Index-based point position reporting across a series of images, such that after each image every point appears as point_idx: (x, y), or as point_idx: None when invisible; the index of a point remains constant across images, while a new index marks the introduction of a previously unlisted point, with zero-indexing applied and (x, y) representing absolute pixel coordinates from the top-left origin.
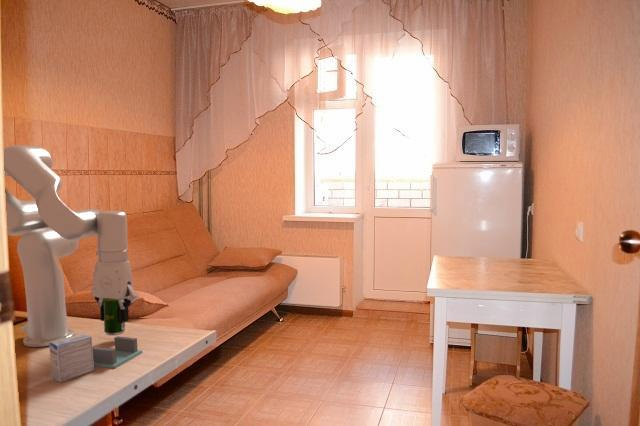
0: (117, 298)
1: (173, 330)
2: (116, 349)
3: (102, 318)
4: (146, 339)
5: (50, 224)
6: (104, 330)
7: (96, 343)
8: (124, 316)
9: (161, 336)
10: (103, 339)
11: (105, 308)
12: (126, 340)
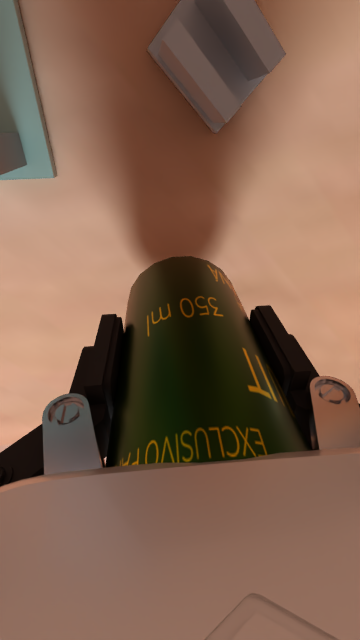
0: (16, 493)
1: (38, 424)
2: (4, 132)
3: (260, 315)
4: (50, 332)
5: None
6: (218, 269)
7: (244, 225)
8: (80, 361)
9: (21, 373)
10: (245, 276)
11: (227, 355)
12: None
